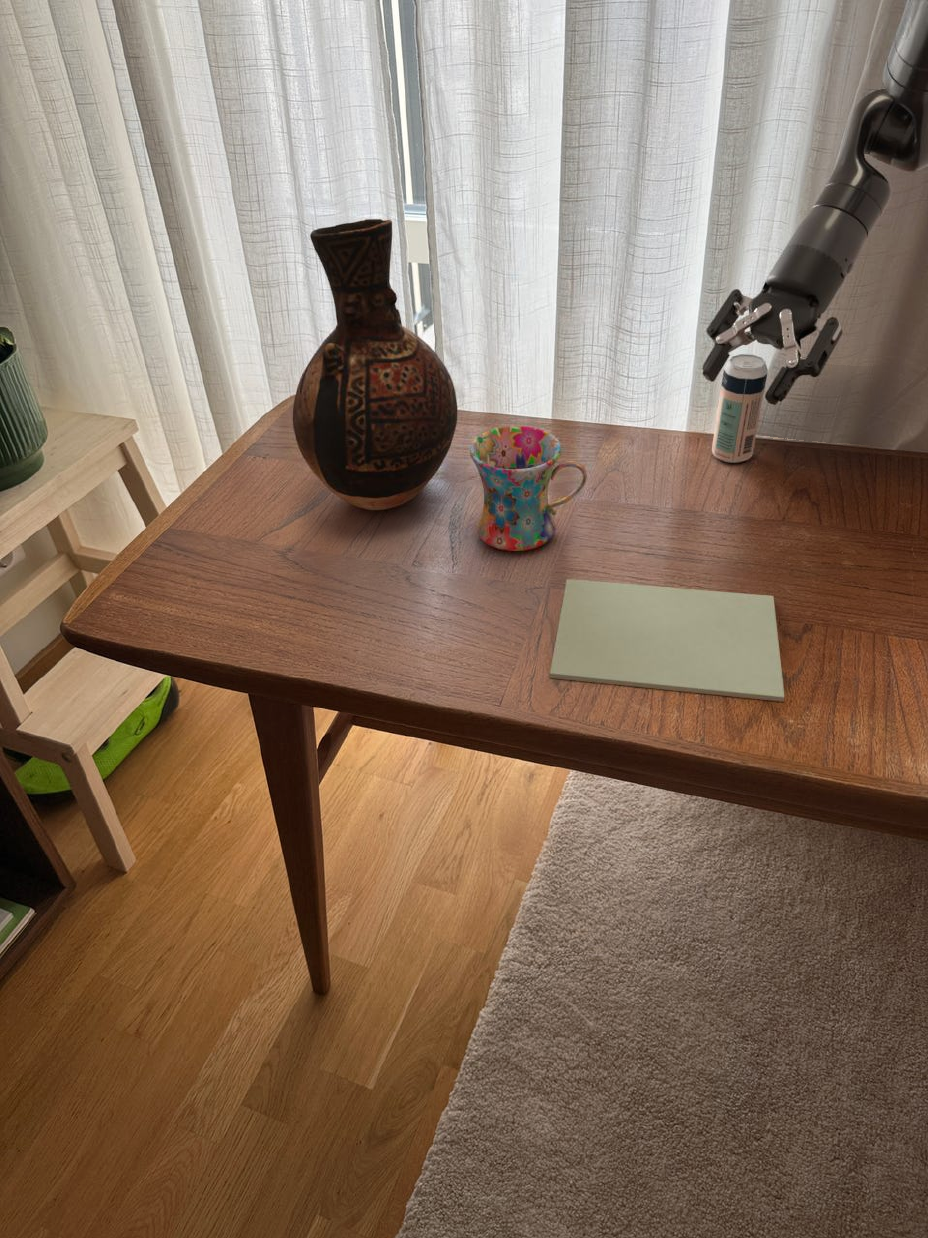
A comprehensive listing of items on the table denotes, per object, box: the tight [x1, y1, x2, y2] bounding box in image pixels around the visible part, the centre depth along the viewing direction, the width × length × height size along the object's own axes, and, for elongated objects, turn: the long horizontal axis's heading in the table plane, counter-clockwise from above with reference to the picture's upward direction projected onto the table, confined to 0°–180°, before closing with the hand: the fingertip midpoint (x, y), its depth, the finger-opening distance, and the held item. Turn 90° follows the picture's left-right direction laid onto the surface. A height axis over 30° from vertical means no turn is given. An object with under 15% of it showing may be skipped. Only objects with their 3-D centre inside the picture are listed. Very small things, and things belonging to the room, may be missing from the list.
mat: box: [549, 578, 786, 703], centre depth 82 cm, size 20×14×1 cm
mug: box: [469, 425, 588, 552], centre depth 93 cm, size 12×9×11 cm
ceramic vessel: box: [292, 218, 458, 511], centre depth 95 cm, size 21×18×30 cm
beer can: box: [711, 353, 769, 464], centre depth 104 cm, size 5×5×12 cm
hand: (737, 389), depth 101 cm, fingers open, 8 cm apart
